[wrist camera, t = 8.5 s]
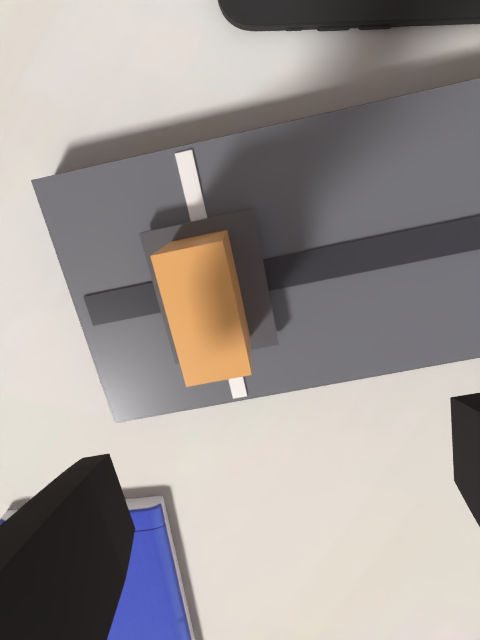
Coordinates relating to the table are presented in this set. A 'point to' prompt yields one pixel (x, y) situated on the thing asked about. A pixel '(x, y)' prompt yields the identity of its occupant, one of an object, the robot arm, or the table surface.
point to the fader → (212, 294)
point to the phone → (347, 14)
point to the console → (290, 247)
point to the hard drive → (150, 579)
